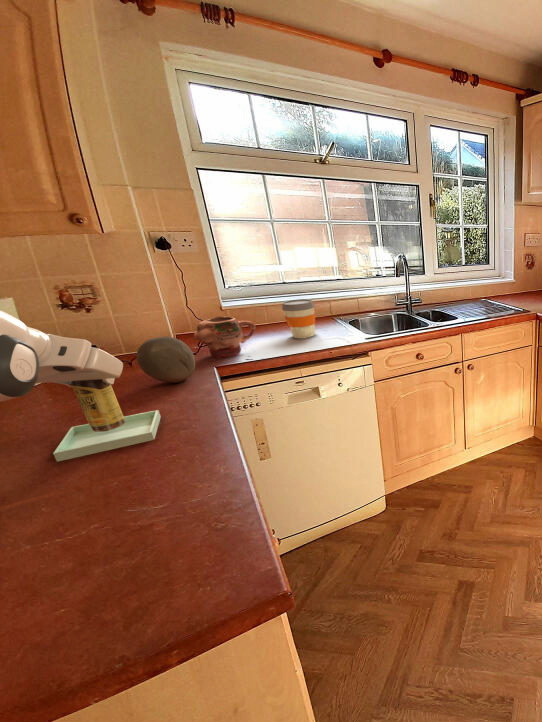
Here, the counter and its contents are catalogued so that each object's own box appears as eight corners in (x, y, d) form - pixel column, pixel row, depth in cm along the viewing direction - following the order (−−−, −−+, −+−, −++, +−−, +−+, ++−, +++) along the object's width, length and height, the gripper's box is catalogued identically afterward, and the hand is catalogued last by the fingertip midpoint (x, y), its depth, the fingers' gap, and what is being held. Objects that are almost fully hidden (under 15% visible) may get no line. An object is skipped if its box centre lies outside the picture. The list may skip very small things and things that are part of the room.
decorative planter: (255, 345, 175) (247, 311, 170) (264, 351, 167) (255, 316, 162) (198, 355, 163) (187, 320, 158) (204, 363, 154) (192, 325, 149)
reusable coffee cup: (293, 332, 193) (286, 299, 187) (322, 330, 195) (316, 298, 189) (284, 340, 182) (276, 305, 176) (315, 338, 184) (308, 303, 178)
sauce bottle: (86, 431, 100) (47, 351, 93) (115, 420, 105) (82, 343, 98) (104, 434, 98) (66, 353, 91) (133, 422, 103) (100, 345, 96)
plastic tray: (56, 461, 93) (52, 453, 92) (74, 434, 104) (71, 427, 104) (154, 439, 101) (151, 432, 100) (160, 416, 113) (158, 409, 112)
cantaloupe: (199, 371, 146) (186, 329, 140) (201, 383, 135) (187, 338, 130) (147, 381, 138) (131, 336, 133) (145, 394, 128) (127, 346, 122)
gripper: (-28, 372, 83) (39, 398, 96) (85, 366, 85) (137, 392, 98) (-16, 344, 86) (48, 373, 98) (94, 338, 88) (143, 367, 100)
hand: (93, 382), depth 98 cm, fingers closed on sauce bottle, 6 cm apart
